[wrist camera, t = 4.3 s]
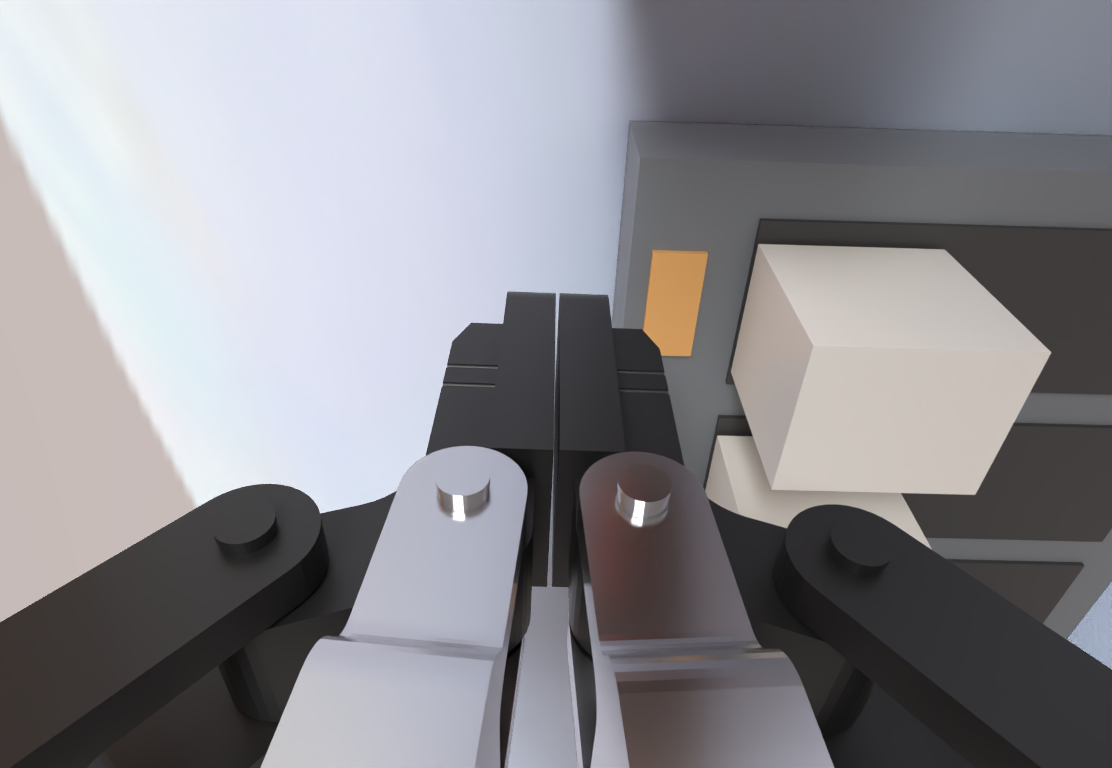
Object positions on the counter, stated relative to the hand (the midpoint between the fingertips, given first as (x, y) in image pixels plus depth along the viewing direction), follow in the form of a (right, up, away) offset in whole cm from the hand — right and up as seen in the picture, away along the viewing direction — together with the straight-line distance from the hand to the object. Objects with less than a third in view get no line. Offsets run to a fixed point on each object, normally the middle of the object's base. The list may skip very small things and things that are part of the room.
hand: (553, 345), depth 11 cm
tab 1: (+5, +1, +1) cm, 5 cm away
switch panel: (+7, -1, +5) cm, 9 cm away
